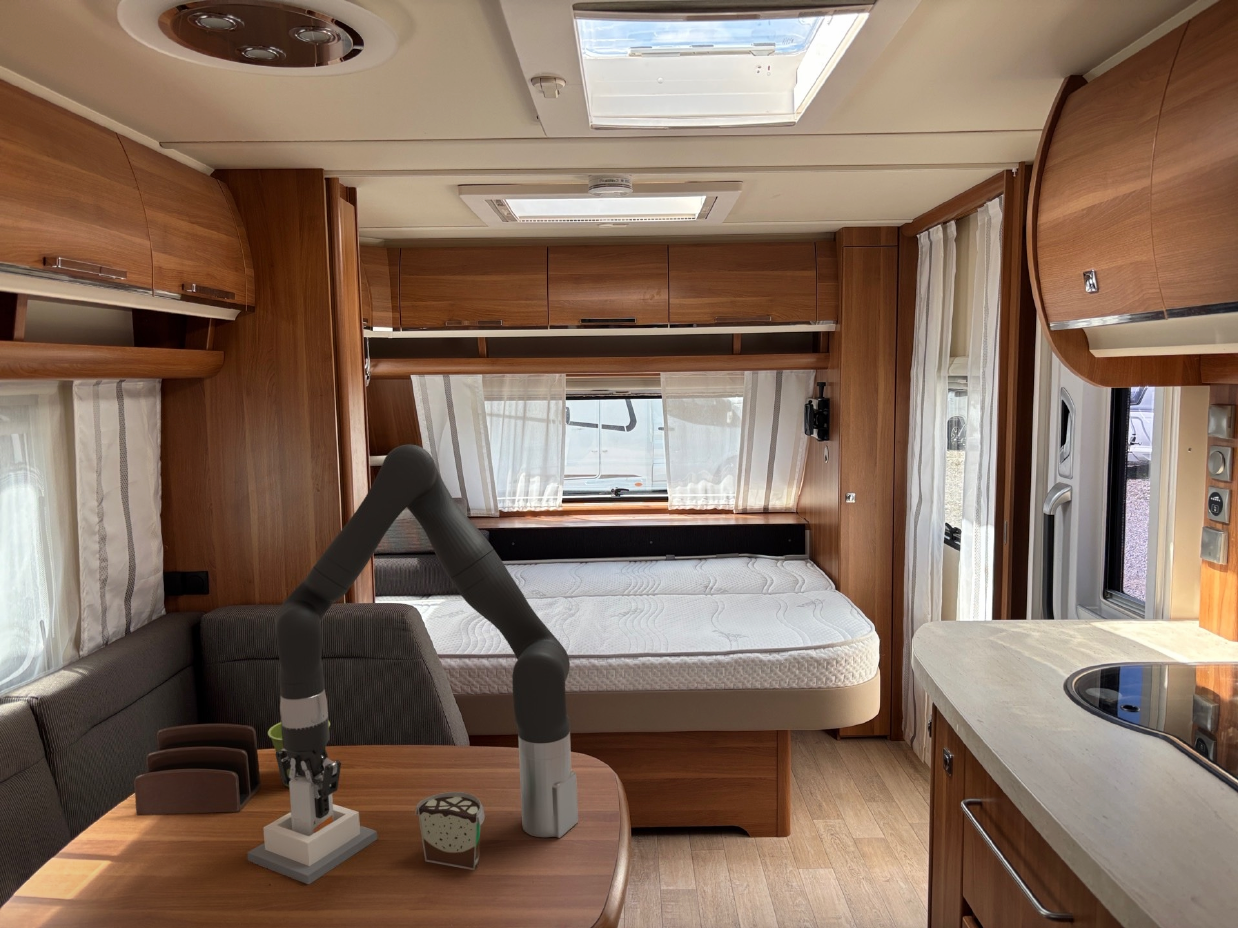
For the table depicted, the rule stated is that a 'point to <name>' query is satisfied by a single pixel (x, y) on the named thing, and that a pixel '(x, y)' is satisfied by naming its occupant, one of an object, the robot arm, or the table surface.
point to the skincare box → (306, 807)
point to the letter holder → (199, 770)
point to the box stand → (311, 846)
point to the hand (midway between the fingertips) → (311, 812)
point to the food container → (451, 828)
